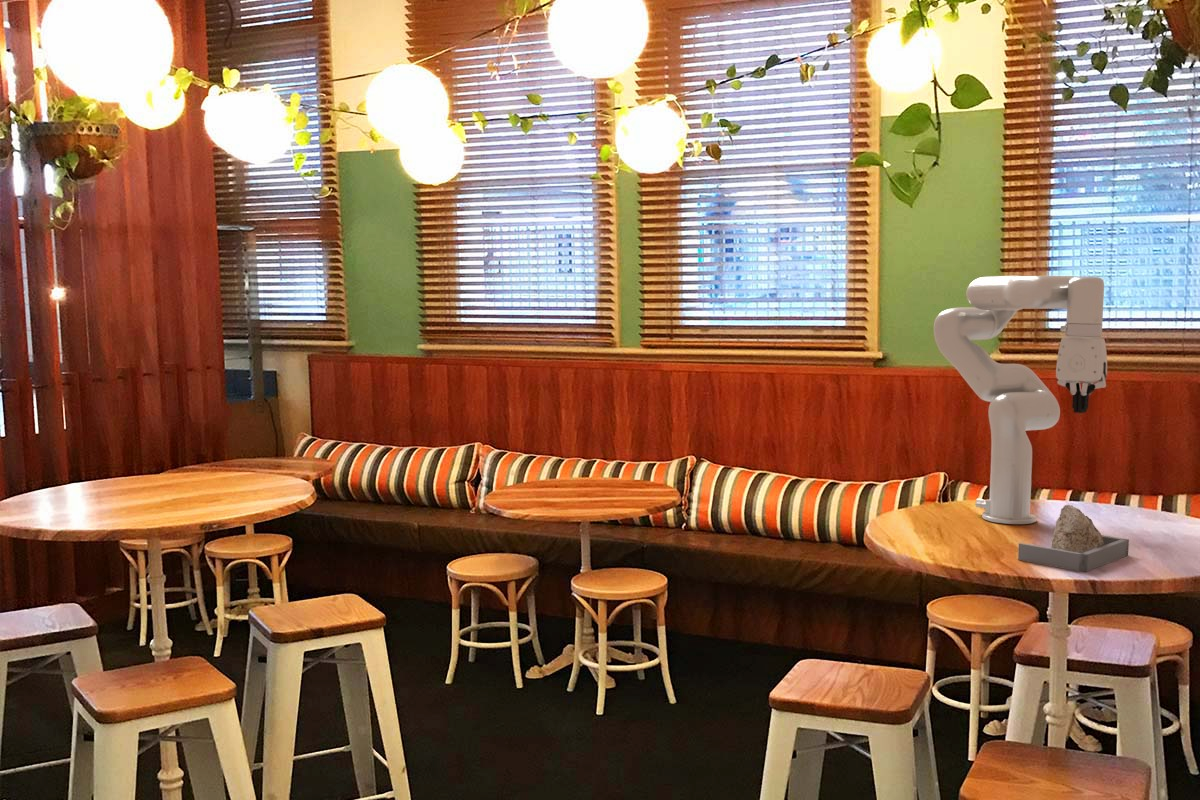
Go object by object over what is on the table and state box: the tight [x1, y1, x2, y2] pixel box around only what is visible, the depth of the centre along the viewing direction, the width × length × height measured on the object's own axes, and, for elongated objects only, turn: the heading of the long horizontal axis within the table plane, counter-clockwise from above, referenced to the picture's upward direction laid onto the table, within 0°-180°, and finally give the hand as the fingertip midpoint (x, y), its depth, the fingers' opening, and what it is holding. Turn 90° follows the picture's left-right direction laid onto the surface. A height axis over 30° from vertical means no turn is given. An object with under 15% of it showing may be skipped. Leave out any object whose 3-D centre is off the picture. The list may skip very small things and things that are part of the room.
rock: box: [1051, 504, 1104, 553], centre depth 249 cm, size 14×10×8 cm
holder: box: [1017, 534, 1130, 573], centre depth 247 cm, size 14×21×4 cm, turn 133°
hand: (1080, 412), depth 263 cm, fingers closed
